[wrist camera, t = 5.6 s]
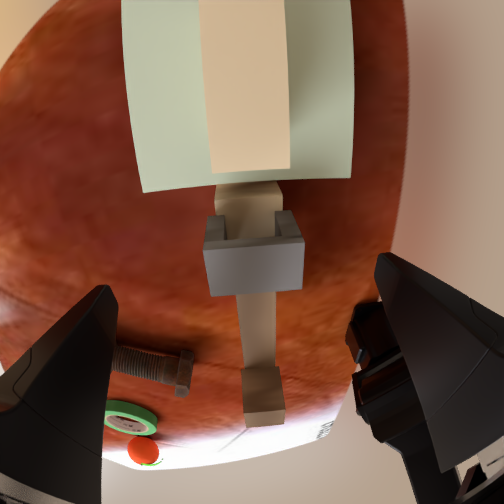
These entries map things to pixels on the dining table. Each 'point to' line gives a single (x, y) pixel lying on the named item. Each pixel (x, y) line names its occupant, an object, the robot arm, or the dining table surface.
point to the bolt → (156, 367)
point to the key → (260, 360)
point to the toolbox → (252, 241)
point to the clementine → (143, 451)
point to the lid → (239, 90)
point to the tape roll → (132, 411)
